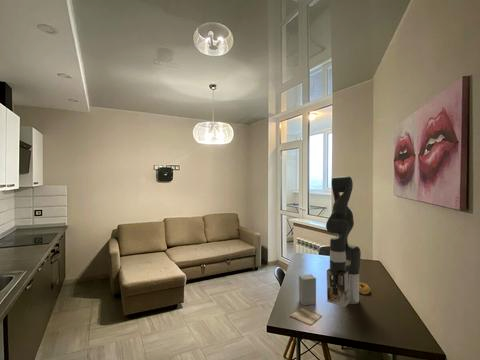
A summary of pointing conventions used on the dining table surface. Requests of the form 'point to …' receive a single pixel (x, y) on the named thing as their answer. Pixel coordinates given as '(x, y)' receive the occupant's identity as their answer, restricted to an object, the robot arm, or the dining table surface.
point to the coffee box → (339, 288)
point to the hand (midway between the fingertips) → (338, 292)
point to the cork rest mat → (306, 316)
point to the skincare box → (307, 289)
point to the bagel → (363, 288)
